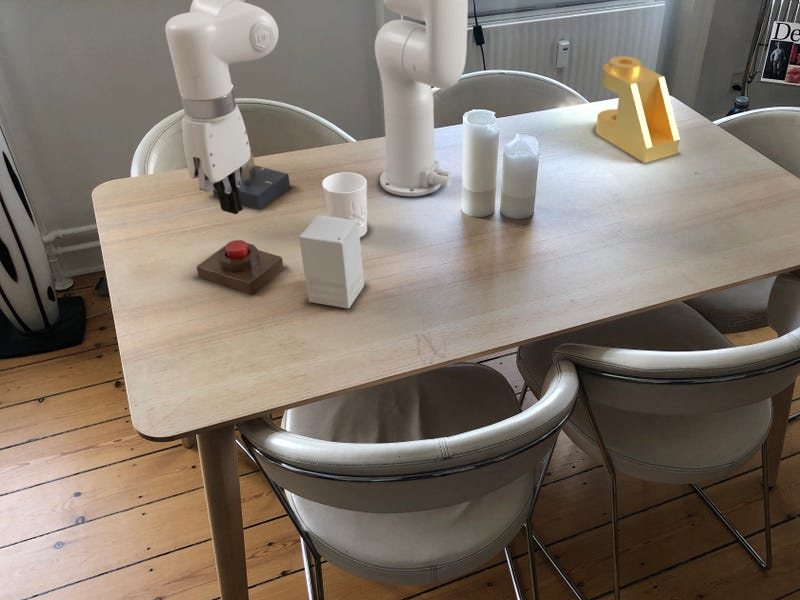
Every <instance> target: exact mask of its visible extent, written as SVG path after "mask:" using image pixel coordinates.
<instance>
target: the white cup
mask: <svg viewBox="0 0 800 600" xmlns="http://www.w3.org/2000/svg"><path fill="white" fill-rule="evenodd" d="M367 181H368V180H367V178H366V177H365V176H363V175H362V174H359V173H356V172H351V171H344V172H336V173H332V174H330V175H328V176H326V177H325V178H323V180H322V181H321V188H322V193H323V199H324V207H325V210H326V211H325V212H326V216H329V217H336V218H343V219H349V220H356V221H358V226H359V236H360V238H362V237H364V236H365V235H366V234H367V232H368V182H367Z"/></svg>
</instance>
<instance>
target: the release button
mask: <svg viewBox="0 0 800 600" xmlns="http://www.w3.org/2000/svg"><path fill="white" fill-rule="evenodd" d="M247 243H248V242H246V241H245V240H242V239H235V240H231V241H229V242H227V243H226V244H225V245H226V246H225V245H224V246H225V248H226V253H227V257H228V258H230V259H242V258H245V257H247V256H248V255H249V250H248V245H247Z"/></svg>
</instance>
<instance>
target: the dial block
mask: <svg viewBox="0 0 800 600" xmlns="http://www.w3.org/2000/svg"><path fill="white" fill-rule="evenodd" d="M255 170H256V171H255V174H254V178H253V181H252V185H244V181H243V175H242V173H241V176H240V178H241V185H240V187H238V188H239V191H240V196H241V201H242V206H246V207H251V208H254V209H256V210H261V209H262V208H264V207H265V206H266V205H268V204H269V203H270V202H272V201H273V200H275V199H277V197H279V196H280V195H282V194H283V193H284V192H286V191H287V190H289V189H290V188H291V183H290V177H289V173H286V172H282V171H280V170H275V169H272V168H267V166H260V165H256V164H255ZM219 182H221V181H219ZM212 193H213V197H214V198H218V199H219V197H218V193H217V191H215V190H212Z"/></svg>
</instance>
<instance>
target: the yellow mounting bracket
mask: <svg viewBox="0 0 800 600" xmlns="http://www.w3.org/2000/svg"><path fill="white" fill-rule="evenodd" d="M600 82H601V85H602V87H604V88H605V89H607V90H609V92H612V93H614V94H616V95H617V96H618V102H617V109H616V108H615V109H614V108H612V109H606V110H602V111H600V112H599V113H597V118H596V124H595V125H596V127H595V132H596V134H597V135H598V136H600V137H601V138H603V140H606V141H608V142H609V143H610V144H612V145H614V146H616V147H617V148H619V149H620V150H622V151H624V152H626V153H627V154H629V155H631V156H632V157H634V158H636V159H637V160H638V161H640V162H642V163H643V164H646V163H650V162H654V161H656V160H660V159H664V158H667V157H670V156H675V155H677V154H678V150H679V144H680V140H681V139H680V134H679V131H678V127H677V123H676V120H675V114H674V110H673V105H672V103H671V99H670V94H669V90H668V86H667V83H666V79H665V76H663V75H662V74H659V73H657V72H656V71H654V70H652V69H649V68H647V67H646V66H643V65H642V61H641V60H640V59H638V58H636V57H633V56H624V55H622V56H621V55H619V56H614V57H612V58H610V59H609V62H607V63H605V64H604V65H603V67H602V74H601V81H600Z"/></svg>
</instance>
